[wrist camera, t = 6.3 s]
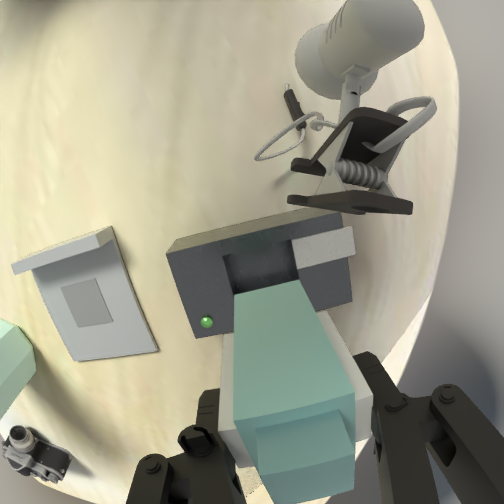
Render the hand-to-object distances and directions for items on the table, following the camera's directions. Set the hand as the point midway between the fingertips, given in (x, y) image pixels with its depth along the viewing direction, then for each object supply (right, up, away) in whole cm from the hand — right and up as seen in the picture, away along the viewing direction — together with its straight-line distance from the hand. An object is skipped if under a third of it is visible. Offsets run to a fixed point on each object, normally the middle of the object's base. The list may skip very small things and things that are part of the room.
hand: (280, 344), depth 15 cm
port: (-1, +4, +13) cm, 14 cm away
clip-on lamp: (+2, +16, +10) cm, 19 cm away
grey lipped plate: (-19, -1, +13) cm, 23 cm away
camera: (-42, -30, +21) cm, 56 cm away
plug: (0, +1, +3) cm, 3 cm away
